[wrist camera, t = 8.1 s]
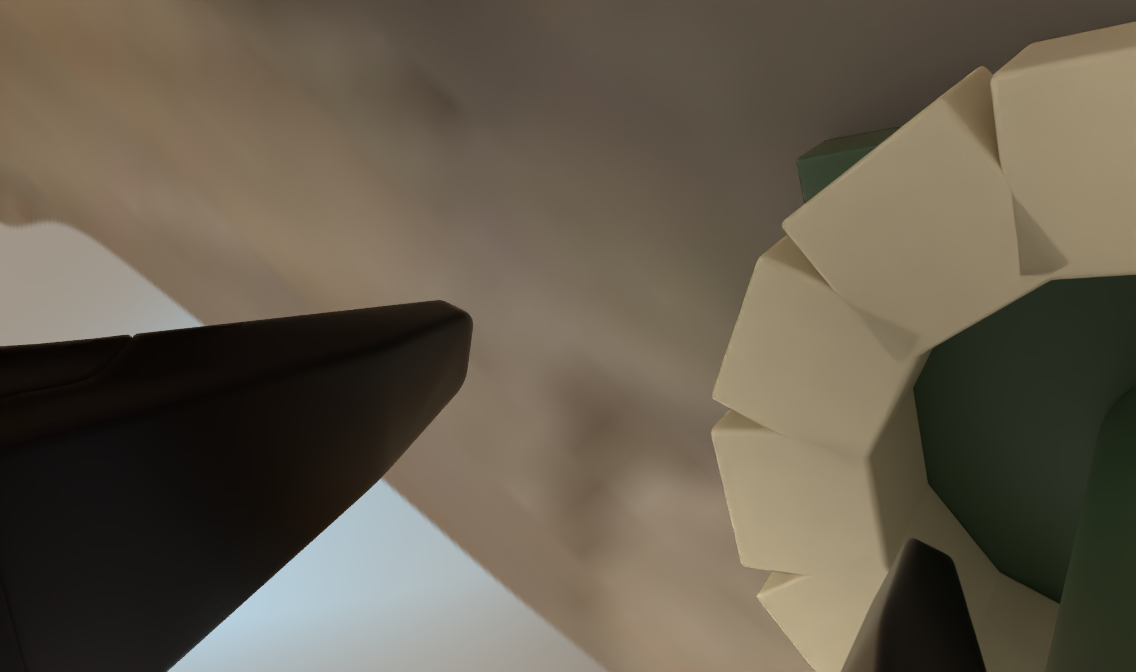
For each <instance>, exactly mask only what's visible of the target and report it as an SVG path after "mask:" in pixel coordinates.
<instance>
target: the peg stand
mask: <svg viewBox="0 0 1136 672" xmlns="http://www.w3.org/2000/svg"><path fill="white" fill-rule="evenodd" d="M901 127H902V126H901ZM901 127H896V128H890V129H885V130H879V131H874V132H869V133H863V134H858V135H852V136H847V137H841V138H836V139H830V140H825V141H824V142H822V143H821V144H819V145H818V146H816V147H815V148H813V149H812V150H810V151H809V152H807V153H805V154H804V155H802V156H801V157H799V158H798V159H797V167H798V172H799V177H800V182H801V188H802V193H803V198H804V203H807V202H808V201H809V200H810V199H812V198H813V197H814V196H815V195H817V194H818V193H819V192H820V191H822V190H823V189H824V188H825V187H827V186H828V185H829V184H830V183H832V182H833V181H834V180H836V179H837V178H838V177H839V176H841V175H842V174H843V173H844V172H846V171H847V170H848V169H849V168H851V167H852V166H853V165H854V164H856V163H857V162H858V161H859V160H861V159H862V158H863V157H864V156H866V155H867V154H868V153H869V152H871V151H872V150H873V149H875V148H876V147H877V146H878V145H880V144H881V143H882V142H883V141H885V140H886V139H887V138H888V137H890V136H891V135H892V134H893V133H895V132H896V131H897V130H898V129H900V128H901ZM913 392H914V398H915V404H916V411H917V417H918V423H919V430H920V436H921V442H922V449H923V455H924V461H925V468H926V474H927V480H928V484H929V485H930V487H931V488H932V489H933V490H934V492H935V493H936V494H937V495H938V497H939V498H940V499H941V500H942V502H943V503H944V504H945V505H946V506H947V508H948V509H949V510H950V511H951V513H952V514H953V515H954V516H955V518H956V519H957V520H958V521H959V523H960V524H961V525H962V526H963V528H964V529H965V530H966V531H967V532H968V534H969V535H970V536H971V537H972V539H973V540H974V541H975V542H976V544H977V545H978V546H979V547H980V549H981V550H982V551H983V552H984V554H985V555H986V556H987V557H988V558H989V560H990V561H991V562H992V563H993V565H994V566H995V567H996V568H997V570H998V571H999V572H1001V573H1003V574H1004V575H1006V576H1008V577H1010V578H1012V579H1014V580H1016V581H1018V582H1019V583H1021V584H1023V585H1025V586H1027V587H1029V588H1031V589H1032V590H1034V591H1036V592H1038V593H1040V594H1042V595H1044V596H1046V597H1047V598H1049V599H1051V600H1053V601H1055V602H1057V603H1059V604H1060V606H1059V611H1058V615H1057V620H1056V624H1055V628H1054V633H1053V637H1052V642H1051V646H1050V650H1049V655H1048V659H1047V664H1046V668H1045V672H1136V275H1123V276H1107V277H1090V278H1074V279H1058V280H1050V281H1049V282H1047V283H1045V284H1043V285H1042V286H1040V287H1038V288H1037V289H1035V290H1033V291H1031V292H1030V293H1028V294H1026V295H1024V296H1023V297H1021V298H1019V299H1017V300H1016V301H1014V302H1012V303H1010V304H1009V305H1007V306H1005V307H1003V308H1002V309H1000V310H998V311H996V312H995V313H993V314H991V315H989V316H988V317H986V318H984V319H982V320H981V321H979V322H977V323H975V324H974V325H972V326H970V327H968V328H967V329H965V330H963V331H961V332H960V333H958V334H956V335H954V336H953V337H951V338H949V339H948V340H946V341H944V342H942V343H941V344H939V345H937V346H935V347H934V348H933V349H932V351H931V353H930V355H929V357H928V359H927V361H926V363H925V365H924V367H923V369H922V371H921V373H920V375H919V377H918V379H917V381H916V383H915V385H914V387H913Z"/></svg>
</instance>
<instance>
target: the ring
mask: <svg viewBox="0 0 1136 672" xmlns="http://www.w3.org/2000/svg"><path fill="white" fill-rule="evenodd" d="M782 227H783V229H784V230H785V231H786V233H787V235H786V236H784V237H783V238H782V239H781V240H779V241H778V242H777V243H776V244H774V245H773V246H772V247H771V248H770V249H768V250H767V251H766V252H765V253H763V254H762V255H761V256H760V257H759V258H758V260H757V263H756V266H755V269H754V272H753V275H752V278H751V281H750V284H749V287H748V289H747V292H746V295H745V298H744V301H743V304H742V307H741V310H740V313H739V316H738V319H737V322H736V325H735V328H734V330H733V333H732V336H731V339H730V342H729V345H728V348H727V351H726V354H725V357H724V360H723V363H722V366H721V369H720V371H719V374H718V377H717V380H716V383H715V386H714V389H713V393H712V398H713V399H714V400H715V401H717V402H719V403H721V404H723V405H724V406H726V407H728V408H730V409H729V410H728V412H727V413H726V414H725V415H724V416H723V417H722V418H721V419H720V420H719V421H718V422H717V423H716V424H715V425H714V427H713V428H712V430H711V437H712V441H713V445H714V449H715V454H716V458H717V462H718V467H719V471H720V475H721V479H722V484H723V488H724V492H725V496H726V501H727V505H728V509H729V513H730V518H731V522H732V526H733V531H734V535H735V539H736V543H737V548H738V552H739V556H740V560H741V563H742V565H743V566H745V567H747V568H754V569H761V570H768V571H772V572H771V574H770V576H769V577H768V579H767V580H766V582H765V583H764V585H763V586H762V588H761V589H760V591H759V592H758V594H757V598H758V600H759V601H760V602H761V604H762V605H763V606H764V607H765V609H766V610H767V611H768V613H769V614H770V615H771V616H772V618H773V619H774V620H775V621H776V623H777V624H778V625H779V627H780V628H781V629H782V630H783V632H784V633H785V634H786V635H787V637H788V638H789V639H790V640H791V642H792V643H793V644H794V646H795V647H796V648H797V649H798V651H799V652H800V653H801V654H802V656H803V657H804V658H805V660H806V661H807V662H808V663H809V665H810V666H811V667H812V668H813V670H814V671H815V672H841V670H842V668H843V666H844V663H845V661H846V659H847V657H848V654H849V652H850V650H851V648H852V645H853V643H854V641H855V639H856V637H857V634H858V632H859V630H860V628H861V625H862V623H863V621H864V619H865V617H866V614H867V612H868V610H869V608H870V606H871V604H872V602H873V600H874V598H875V596H876V594H877V592H878V590H879V589H880V587H881V585H882V583H883V581H884V579H885V578H886V576H887V574H888V572H889V570H890V568H891V567H892V565H893V563H894V561H895V559H896V557H897V556H898V554H899V552H900V550H901V548H902V547H903V545H904V543H905V542H906V541H907V540H908V539H910V538H915V539H918V540H920V541H922V542H924V543H926V544H928V545H930V546H932V547H934V548H936V549H938V550H940V551H942V552H943V553H945V554H947V555H949V556H950V557H951V558H952V560H953V561H954V563H955V566H956V570H957V573H958V576H959V580H960V583H961V587H962V590H963V593H964V597H965V600H966V603H967V607H968V610H969V613H970V617H971V620H972V624H973V627H974V630H975V634H976V637H977V640H978V644H979V647H980V651H981V654H982V657H983V661H984V664H985V667H986V671H987V672H1045V668H1046V664H1047V659H1048V655H1049V650H1050V646H1051V642H1052V637H1053V633H1054V628H1055V624H1056V620H1057V615H1058V611H1059V606H1060V604H1059V603H1057V602H1055V601H1053V600H1051V599H1049V598H1047V597H1046V596H1044V595H1042V594H1040V593H1038V592H1036V591H1034V590H1032V589H1031V588H1029V587H1027V586H1025V585H1023V584H1021V583H1019V582H1018V581H1016V580H1014V579H1012V578H1010V577H1008V576H1006V575H1004V574H1003V573H1001V572H999V571H998V570H997V568H996V567H995V566H994V565H993V563H992V562H991V561H990V560H989V558H988V557H987V556H986V555H985V554H984V552H983V551H982V550H981V549H980V547H979V546H978V545H977V544H976V542H975V541H974V540H973V539H972V537H971V536H970V535H969V534H968V532H967V531H966V530H965V529H964V528H963V526H962V525H961V524H960V523H959V521H958V520H957V519H956V518H955V516H954V515H953V514H952V513H951V511H950V510H949V509H948V508H947V506H946V505H945V504H944V503H943V502H942V500H941V499H940V498H939V497H938V495H937V494H936V493H935V492H934V490H933V489H932V488H931V487H930V485H929V484H928V480H927V474H926V468H925V461H924V455H923V449H922V442H921V436H920V430H919V423H918V417H917V411H916V404H915V398H914V392H913V387H914V385H915V383H916V381H917V379H918V377H919V375H920V373H921V371H922V369H923V367H924V365H925V363H926V361H927V359H928V357H929V355H930V353H931V351H932V349H933V348H934V347H935V346H937V345H939V344H941V343H942V342H944V341H946V340H948V339H949V338H951V337H953V336H954V335H956V334H958V333H960V332H961V331H963V330H965V329H967V328H968V327H970V326H972V325H974V324H975V323H977V322H979V321H981V320H982V319H984V318H986V317H988V316H989V315H991V314H993V313H995V312H996V311H998V310H1000V309H1002V308H1003V307H1005V306H1007V305H1009V304H1010V303H1012V302H1014V301H1016V300H1017V299H1019V298H1021V297H1023V296H1024V295H1026V294H1028V293H1030V292H1031V291H1033V290H1035V289H1037V288H1038V287H1040V286H1042V285H1043V284H1045V283H1047V282H1049V281H1050V280H1058V279H1074V278H1090V277H1107V276H1123V275H1136V22H1131V23H1126V24H1121V25H1116V26H1112V27H1107V28H1102V29H1097V30H1092V31H1088V32H1083V33H1078V34H1073V35H1068V36H1064V37H1059V38H1054V39H1049V40H1044V41H1039V42H1035V43H1032V44H1030V45H1028V46H1027V47H1025V48H1024V49H1023V50H1022V51H1021V52H1019V53H1018V54H1017V55H1016V56H1015V57H1014V58H1012V59H1011V60H1010V61H1009V62H1008V63H1006V64H1005V65H1004V66H1003V67H1002V68H1001V69H999V70H998V71H997V72H996V73H995V74H993V75H992V74H991V73H990V72H989V70H988V69H987V68H986V67H983V66H981V67H978V68H977V69H975V70H974V71H973V72H971V73H970V74H969V75H967V76H966V77H965V78H964V79H962V80H961V81H960V82H958V83H957V84H956V85H954V86H953V87H952V88H951V89H949V90H948V91H947V92H945V93H944V94H943V95H941V96H940V97H939V98H937V99H936V100H935V101H934V102H932V103H931V104H930V105H929V106H927V107H926V108H925V109H924V110H922V111H921V112H920V113H919V114H917V115H916V116H915V117H914V118H912V119H911V120H910V121H908V122H907V123H906V124H905V125H903V126H902V127H901V128H900V129H898V130H897V131H896V132H895V133H893V134H892V135H891V136H890V137H888V138H887V139H886V140H885V141H883V142H882V143H881V144H880V145H878V146H877V147H876V148H875V149H873V150H872V151H871V152H869V153H868V154H867V155H866V156H864V157H863V158H862V159H861V160H859V161H858V162H857V163H856V164H854V165H853V166H852V167H851V168H849V169H848V170H847V171H846V172H844V173H843V174H842V175H841V176H839V177H838V178H837V179H836V180H834V181H833V182H832V183H830V184H829V185H828V186H827V187H825V188H824V189H823V190H822V191H820V192H819V193H818V194H817V195H815V196H814V197H813V198H812V199H810V200H809V201H808V202H807V203H805V204H804V205H803V206H802V207H800V208H799V209H798V210H797V211H795V212H794V213H793V214H792V215H790V216H789V217H788V218H786V219H785V220H784V221H783V223H782Z"/></svg>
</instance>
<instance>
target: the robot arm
mask: <svg viewBox="0 0 1136 672" xmlns="http://www.w3.org/2000/svg"><path fill="white" fill-rule="evenodd" d="M472 331H473V321H472V318H471V316H470V315H469V314H468V313H467V312H465V311H463V310H461V309H459V308H457V307H456V306H454V305H452V304H450V303H448V302H445V301H441V300H435V301H426V302H417V303H408V304H399V305H390V306H381V307H372V308H363V309H355V310H346V311H337V312H328V313H319V314H310V315H301V316H292V317H283V318H274V319H265V320H256V321H247V322H238V323H229V324H220V325H211V326H202V327H193V328H184V329H175V330H166V331H158V332H149V333H140V334H136V335H134V336H133V338H132V337H131V336H130V335H120V336H112V337H103V338H95V339H85V340H74V341H64V342H54V343H43V344H31V345H30V344H29V345H17V346H0V672H167V671H168V670H169V669H171V668H172V667H173V666H174V665H175V664H176V663H177V662H178V661H179V660H180V659H182V658H183V657H184V656H185V655H186V654H187V653H188V652H189V651H190V650H192V649H193V648H194V647H195V646H196V645H197V644H198V643H199V642H200V641H202V640H203V639H204V638H205V637H206V636H207V635H208V634H209V633H210V632H212V631H213V630H214V629H215V628H216V627H217V626H218V625H219V624H220V623H221V622H223V621H224V620H225V619H226V618H227V617H228V616H229V615H230V614H232V613H233V612H234V611H235V610H236V609H237V608H238V607H239V606H240V605H242V604H243V603H244V602H245V601H246V600H247V599H248V598H249V597H250V596H252V594H253V593H255V592H256V591H257V590H258V589H259V588H260V587H261V586H263V585H264V584H265V583H266V582H267V581H268V580H269V579H270V578H272V577H273V576H274V575H275V574H276V573H277V572H278V571H279V570H280V569H281V568H283V567H284V566H285V565H286V564H287V563H288V562H289V561H290V560H291V559H293V558H294V557H295V556H296V555H297V554H298V553H299V552H300V551H301V550H303V549H304V548H305V547H306V546H307V545H308V544H309V543H310V542H311V541H313V540H314V539H315V538H316V537H317V536H318V535H319V534H320V533H321V532H323V531H324V530H325V529H326V528H327V527H328V526H329V525H330V524H331V523H333V522H334V521H335V520H336V519H337V518H338V517H339V516H340V515H341V514H343V513H344V511H346V510H347V509H348V508H349V507H350V506H351V505H353V504H354V503H355V502H356V501H357V500H358V499H359V498H360V497H361V496H363V494H365V493H366V492H367V491H368V490H369V489H370V488H371V487H372V486H373V485H374V484H375V483H376V482H377V481H378V480H379V479H380V478H381V477H382V476H383V475H384V474H385V473H386V472H387V471H388V470H389V469H390V468H391V467H392V466H393V465H394V463H395V462H396V461H397V460H398V459H399V458H400V457H401V456H402V454H403V453H404V452H405V451H406V450H407V449H408V448H409V447H410V445H411V444H412V443H413V442H414V441H415V440H416V439H417V438H418V436H419V435H420V434H421V433H422V432H423V431H424V430H425V428H426V427H427V426H428V425H429V424H430V423H431V422H432V421H433V419H434V418H435V417H436V416H437V415H438V414H439V413H440V412H441V410H442V409H443V408H444V407H445V406H446V405H447V404H448V403H449V401H450V400H451V399H452V398H453V397H454V396H455V395H456V393H457V392H458V391H459V389H460V388H461V386H462V384H463V382H464V380H465V377H466V374H467V368H468V361H469V353H470V346H471V338H472ZM841 672H987V671H986V667H985V664H984V661H983V657H982V654H981V651H980V647H979V644H978V640H977V637H976V634H975V630H974V627H973V624H972V620H971V617H970V613H969V610H968V607H967V603H966V600H965V597H964V593H963V590H962V587H961V583H960V580H959V576H958V573H957V570H956V566H955V563H954V561H953V560H952V558H951V557H950V556H949V555H947V554H945V553H943V552H942V551H940V550H938V549H936V548H934V547H932V546H930V545H928V544H926V543H924V542H922V541H920V540H918V539H915V538H910V539H908V540H907V541H906V542H905V543H904V545H903V547H902V548H901V550H900V552H899V554H898V556H897V557H896V559H895V561H894V563H893V565H892V567H891V568H890V570H889V572H888V574H887V576H886V578H885V579H884V581H883V583H882V585H881V587H880V589H879V590H878V592H877V594H876V596H875V598H874V600H873V602H872V604H871V606H870V608H869V610H868V612H867V614H866V617H865V619H864V621H863V623H862V625H861V628H860V630H859V632H858V634H857V637H856V639H855V641H854V643H853V645H852V648H851V650H850V652H849V654H848V657H847V659H846V661H845V663H844V666H843V668H842V670H841Z"/></svg>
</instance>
